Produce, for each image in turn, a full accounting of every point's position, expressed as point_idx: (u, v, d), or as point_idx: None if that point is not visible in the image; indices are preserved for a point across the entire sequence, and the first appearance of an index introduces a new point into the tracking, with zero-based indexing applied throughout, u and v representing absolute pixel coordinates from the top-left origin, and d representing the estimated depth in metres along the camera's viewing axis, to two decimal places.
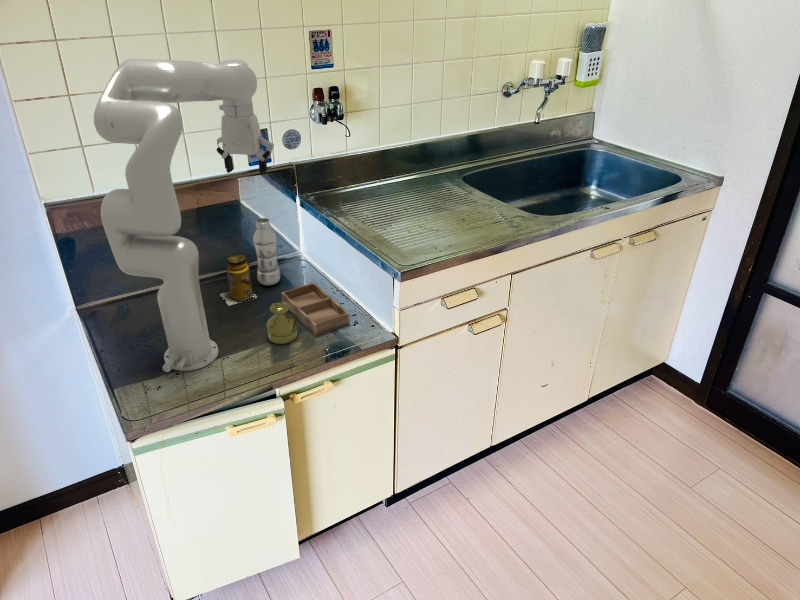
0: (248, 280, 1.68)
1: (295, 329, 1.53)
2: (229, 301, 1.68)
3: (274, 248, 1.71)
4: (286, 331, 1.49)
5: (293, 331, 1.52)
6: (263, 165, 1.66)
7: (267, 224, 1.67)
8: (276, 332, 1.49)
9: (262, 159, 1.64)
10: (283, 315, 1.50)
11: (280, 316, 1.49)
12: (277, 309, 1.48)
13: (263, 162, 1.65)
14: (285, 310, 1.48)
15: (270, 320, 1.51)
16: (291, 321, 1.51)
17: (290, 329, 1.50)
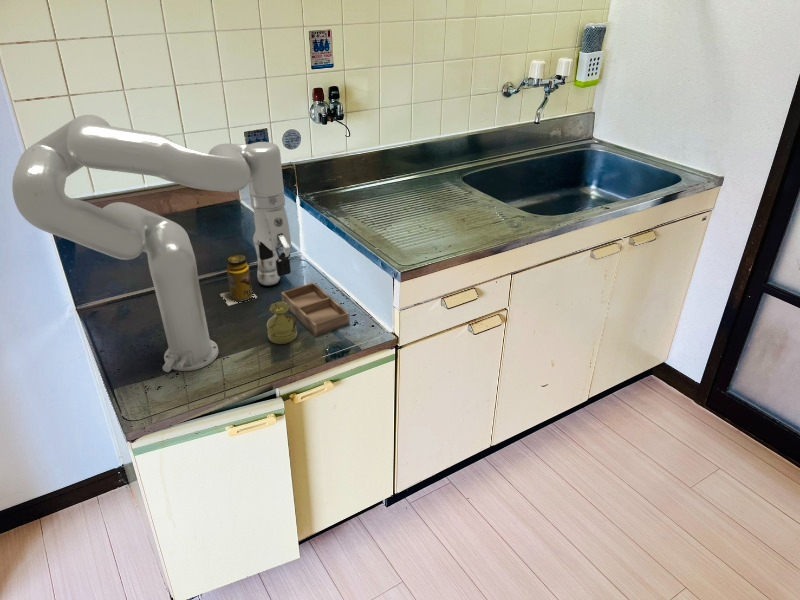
0: (248, 280, 1.68)
1: (295, 329, 1.53)
2: (229, 301, 1.68)
3: None
4: (286, 331, 1.49)
5: (293, 331, 1.52)
6: None
7: None
8: (276, 332, 1.49)
9: None
10: (283, 315, 1.50)
11: (280, 316, 1.49)
12: (276, 309, 1.48)
13: None
14: (285, 310, 1.48)
15: (270, 320, 1.51)
16: (291, 321, 1.51)
17: (290, 329, 1.50)
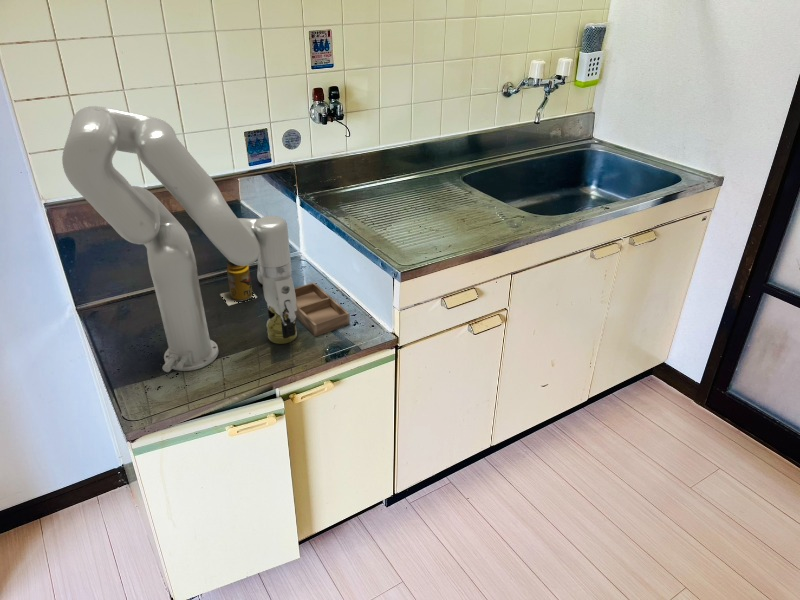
0: (248, 280, 1.68)
1: (295, 329, 1.53)
2: (229, 301, 1.68)
3: None
4: None
5: None
6: None
7: None
8: (276, 331, 1.49)
9: None
10: None
11: (280, 316, 1.49)
12: None
13: None
14: (285, 310, 1.48)
15: (270, 320, 1.51)
16: None
17: None
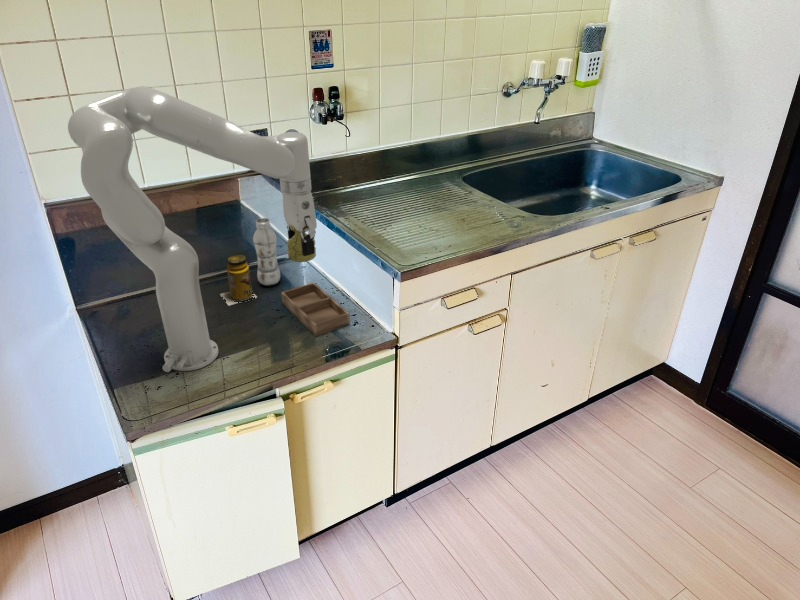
0: (248, 280, 1.68)
1: (314, 249, 1.57)
2: (229, 301, 1.68)
3: (274, 248, 1.71)
4: None
5: None
6: None
7: (267, 224, 1.67)
8: (296, 249, 1.53)
9: None
10: None
11: (300, 234, 1.54)
12: None
13: None
14: (305, 228, 1.52)
15: (290, 239, 1.56)
16: None
17: None
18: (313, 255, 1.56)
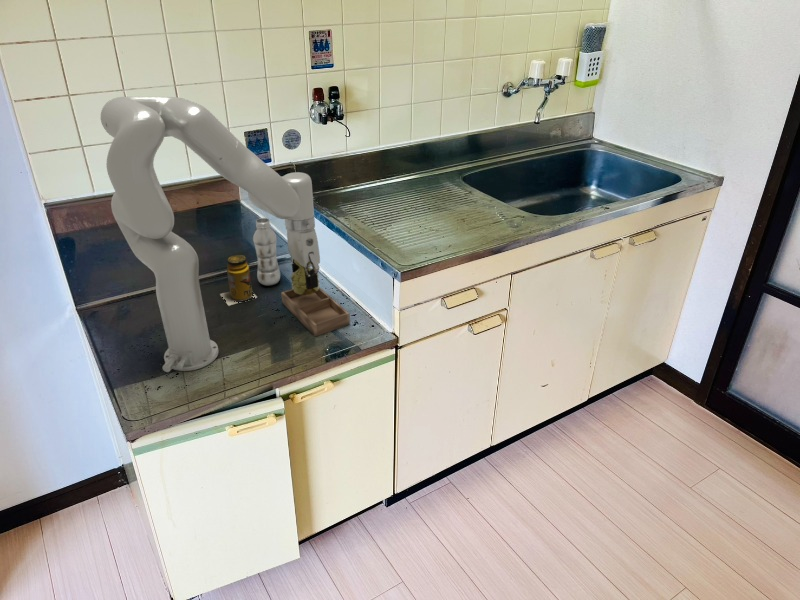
0: (248, 280, 1.68)
1: None
2: (229, 301, 1.68)
3: (274, 248, 1.71)
4: None
5: None
6: None
7: (267, 224, 1.67)
8: (300, 283, 1.59)
9: None
10: None
11: (304, 268, 1.60)
12: None
13: None
14: (309, 262, 1.58)
15: (294, 273, 1.61)
16: None
17: None
18: (316, 288, 1.62)
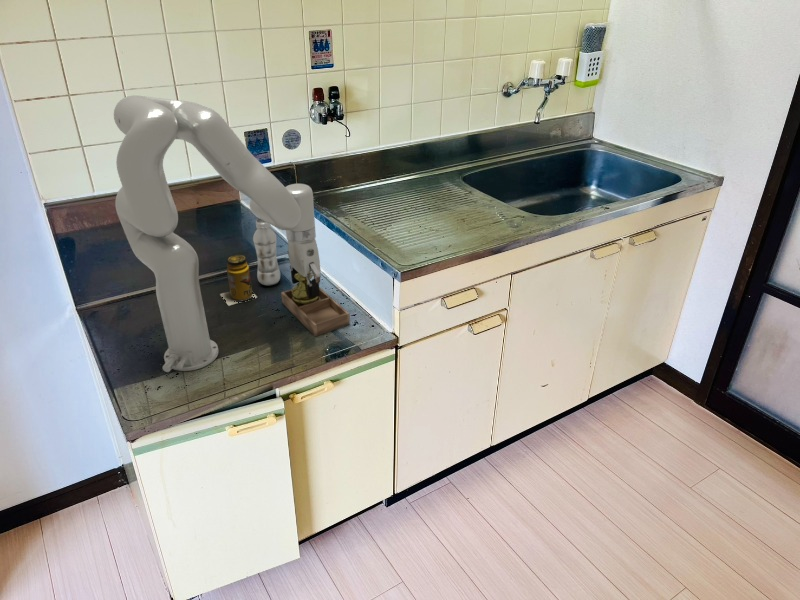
0: (248, 280, 1.68)
1: (317, 296, 1.65)
2: (229, 301, 1.68)
3: (274, 248, 1.71)
4: None
5: (316, 298, 1.64)
6: None
7: (267, 224, 1.67)
8: (300, 297, 1.61)
9: None
10: (307, 282, 1.62)
11: (304, 283, 1.62)
12: (301, 276, 1.60)
13: None
14: None
15: (294, 287, 1.63)
16: None
17: None
18: None
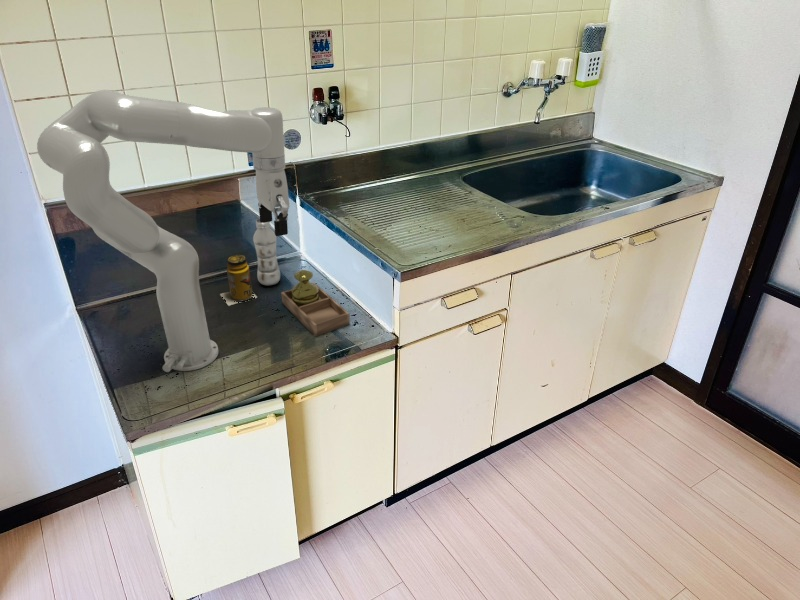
0: (248, 280, 1.68)
1: (317, 296, 1.65)
2: (229, 301, 1.68)
3: (274, 248, 1.71)
4: (310, 297, 1.62)
5: (316, 297, 1.64)
6: None
7: (267, 224, 1.67)
8: (300, 298, 1.61)
9: None
10: (307, 282, 1.62)
11: (304, 283, 1.62)
12: (301, 276, 1.60)
13: None
14: (309, 277, 1.60)
15: (294, 287, 1.63)
16: (314, 288, 1.63)
17: (313, 295, 1.62)
18: None
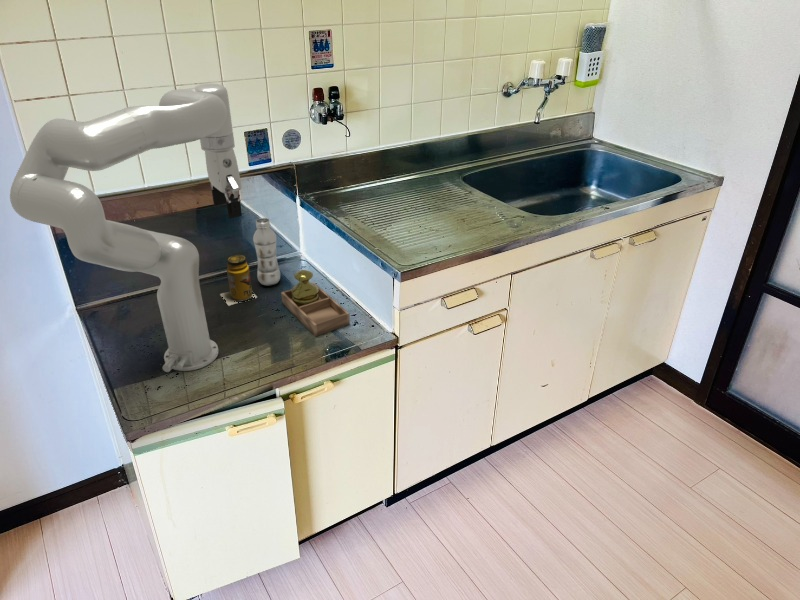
0: (248, 280, 1.68)
1: (317, 296, 1.65)
2: (229, 301, 1.68)
3: (274, 248, 1.71)
4: (310, 297, 1.62)
5: (316, 298, 1.64)
6: None
7: (267, 224, 1.67)
8: (300, 298, 1.61)
9: None
10: (307, 282, 1.62)
11: (304, 283, 1.62)
12: (301, 276, 1.60)
13: None
14: (309, 277, 1.60)
15: (294, 287, 1.63)
16: (314, 288, 1.63)
17: (313, 295, 1.62)
18: None
